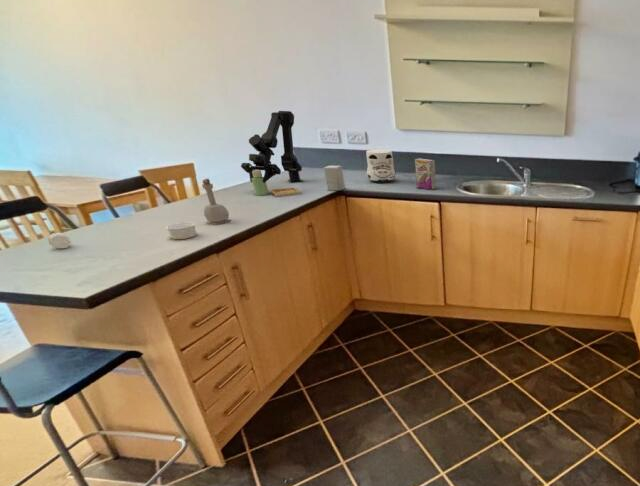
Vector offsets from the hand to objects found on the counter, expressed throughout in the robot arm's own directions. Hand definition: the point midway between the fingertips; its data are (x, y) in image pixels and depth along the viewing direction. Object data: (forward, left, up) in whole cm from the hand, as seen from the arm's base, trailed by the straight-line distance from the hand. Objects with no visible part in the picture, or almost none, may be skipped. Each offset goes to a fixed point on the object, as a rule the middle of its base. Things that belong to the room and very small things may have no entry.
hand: (257, 182), depth 219 cm
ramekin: (+59, -37, -7) cm, 70 cm away
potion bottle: (+44, -24, -7) cm, 51 cm away
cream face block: (-1, +69, -7) cm, 69 cm away
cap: (-1, +1, +3) cm, 3 cm away
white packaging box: (+7, +38, -7) cm, 39 cm away
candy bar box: (+31, +83, -7) cm, 89 cm away
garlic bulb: (+50, -72, -7) cm, 88 cm away
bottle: (-1, +1, -7) cm, 7 cm away
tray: (+3, +12, -7) cm, 14 cm away
